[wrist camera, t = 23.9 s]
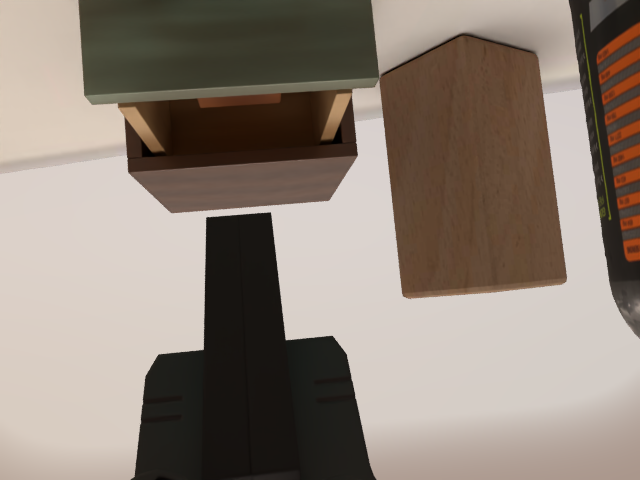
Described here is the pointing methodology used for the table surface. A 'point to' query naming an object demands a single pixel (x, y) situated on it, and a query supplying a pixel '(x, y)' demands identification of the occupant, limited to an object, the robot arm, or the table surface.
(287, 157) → the cabinet
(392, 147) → the wooden block
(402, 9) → the table surface
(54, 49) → the table surface
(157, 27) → the drawer
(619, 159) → the supplement tub
